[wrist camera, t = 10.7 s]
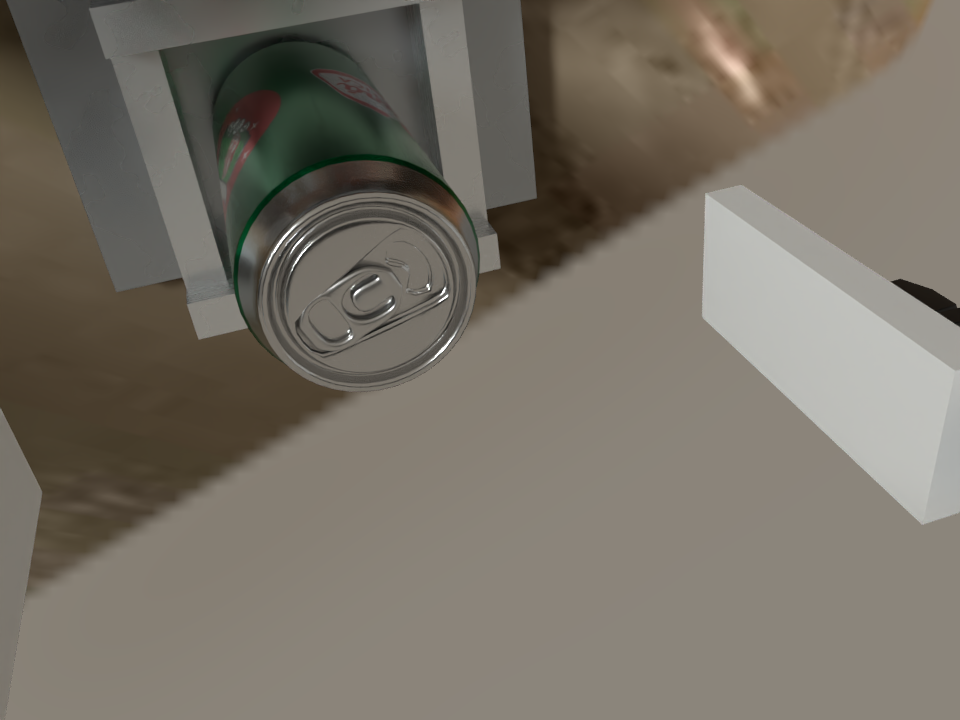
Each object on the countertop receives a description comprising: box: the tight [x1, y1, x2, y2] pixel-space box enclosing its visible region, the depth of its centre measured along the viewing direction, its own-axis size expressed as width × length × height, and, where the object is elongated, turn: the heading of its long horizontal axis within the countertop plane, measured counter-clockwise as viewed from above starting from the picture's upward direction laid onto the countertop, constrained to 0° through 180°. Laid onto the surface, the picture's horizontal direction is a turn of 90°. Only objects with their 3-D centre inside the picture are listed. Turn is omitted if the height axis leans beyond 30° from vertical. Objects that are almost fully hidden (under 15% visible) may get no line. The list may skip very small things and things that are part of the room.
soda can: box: [212, 42, 480, 392], centre depth 23 cm, size 5×5×12 cm
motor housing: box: [6, 0, 537, 339], centre depth 23 cm, size 18×17×10 cm
